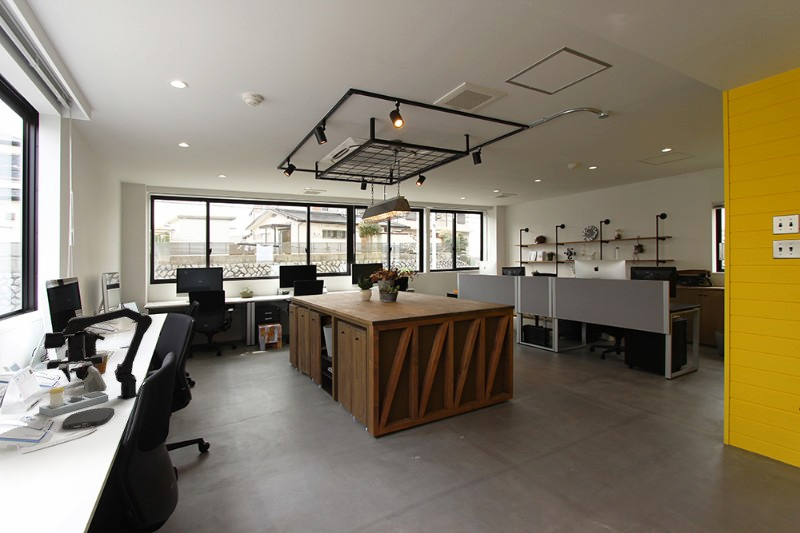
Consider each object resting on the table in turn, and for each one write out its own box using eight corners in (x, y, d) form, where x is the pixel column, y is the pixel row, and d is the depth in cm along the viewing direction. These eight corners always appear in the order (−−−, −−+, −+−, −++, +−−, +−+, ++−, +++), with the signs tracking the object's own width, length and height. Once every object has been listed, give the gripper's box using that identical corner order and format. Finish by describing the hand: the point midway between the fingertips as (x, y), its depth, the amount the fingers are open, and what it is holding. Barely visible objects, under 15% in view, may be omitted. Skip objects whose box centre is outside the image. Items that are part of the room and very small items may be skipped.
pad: (106, 394, 177) (106, 393, 177) (91, 398, 171) (91, 397, 171) (98, 391, 180) (98, 391, 180) (82, 396, 174) (82, 395, 174)
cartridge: (66, 410, 164) (66, 388, 164) (53, 414, 160) (52, 391, 160) (60, 408, 166) (60, 386, 166) (47, 412, 162) (47, 390, 162)
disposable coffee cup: (90, 371, 219) (90, 351, 219) (110, 370, 223) (110, 349, 223) (85, 376, 211) (85, 355, 210) (106, 374, 215) (106, 353, 214)
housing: (108, 400, 176) (108, 394, 176) (51, 417, 157) (51, 410, 157) (96, 396, 180) (96, 391, 180) (39, 412, 161) (39, 406, 161)
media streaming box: (117, 412, 163) (117, 405, 163) (104, 426, 150) (104, 418, 150) (74, 417, 158) (74, 410, 158) (58, 432, 144) (58, 424, 144)
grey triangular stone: (106, 390, 189) (106, 369, 189) (83, 394, 184) (83, 372, 184) (106, 382, 202) (106, 362, 202) (84, 385, 197) (84, 364, 196)
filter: (70, 385, 196) (70, 327, 195) (75, 380, 204) (75, 324, 203) (103, 381, 202) (103, 325, 201) (107, 377, 210) (107, 322, 209)
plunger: (84, 403, 170) (84, 396, 170) (73, 406, 167) (73, 399, 166) (79, 401, 172) (79, 394, 172) (68, 404, 168) (68, 397, 168)
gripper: (104, 340, 181) (104, 373, 181) (51, 345, 170) (51, 379, 170) (102, 344, 171) (102, 379, 172) (46, 350, 161) (46, 386, 161)
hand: (76, 381), depth 169 cm, fingers open, 4 cm apart
